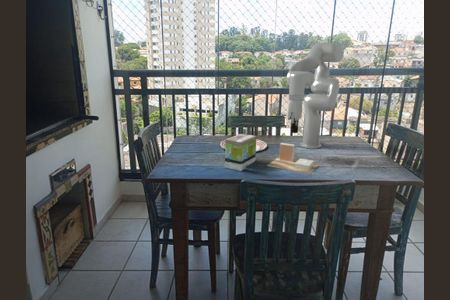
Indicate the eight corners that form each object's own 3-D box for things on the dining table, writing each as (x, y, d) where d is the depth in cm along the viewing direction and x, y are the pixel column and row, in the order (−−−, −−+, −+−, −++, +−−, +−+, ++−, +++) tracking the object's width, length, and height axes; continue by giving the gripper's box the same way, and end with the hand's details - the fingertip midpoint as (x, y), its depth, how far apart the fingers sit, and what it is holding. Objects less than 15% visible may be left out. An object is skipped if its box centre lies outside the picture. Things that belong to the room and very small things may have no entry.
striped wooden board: (278, 159, 173) (278, 156, 173) (319, 165, 163) (319, 163, 162) (266, 167, 160) (266, 165, 159) (310, 176, 149) (310, 173, 149)
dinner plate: (275, 152, 184) (275, 147, 183) (231, 158, 175) (231, 152, 174) (253, 141, 209) (253, 136, 208) (214, 145, 199) (213, 140, 198)
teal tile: (300, 158, 162) (294, 163, 155) (313, 160, 159) (309, 165, 152) (299, 163, 163) (294, 168, 156) (313, 165, 160) (308, 170, 153)
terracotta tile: (280, 158, 170) (281, 142, 168) (293, 160, 167) (294, 144, 164) (279, 159, 168) (279, 144, 166) (292, 161, 165) (293, 145, 162)
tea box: (241, 171, 155) (242, 142, 151) (224, 168, 160) (224, 139, 156) (256, 163, 167) (256, 135, 163) (239, 159, 172) (239, 132, 168)
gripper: (293, 95, 172) (291, 128, 178) (284, 99, 160) (282, 135, 165) (307, 96, 169) (305, 130, 174) (299, 100, 156) (297, 136, 162)
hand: (294, 132), depth 170 cm, fingers closed
